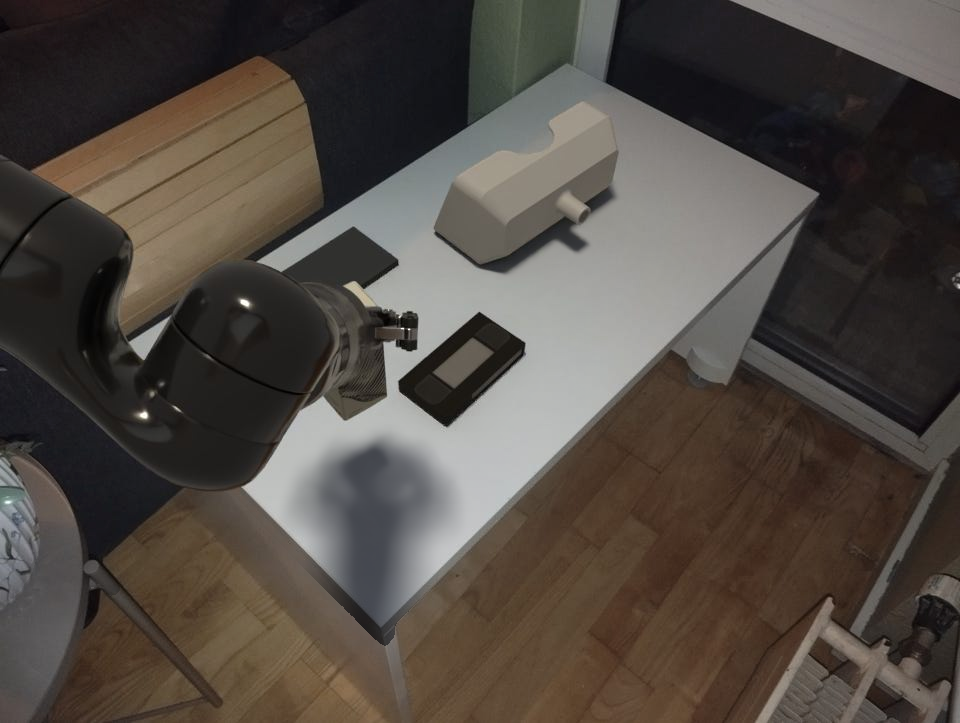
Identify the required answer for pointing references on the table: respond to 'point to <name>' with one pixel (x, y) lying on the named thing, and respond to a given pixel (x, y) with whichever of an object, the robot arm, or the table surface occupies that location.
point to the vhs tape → (461, 368)
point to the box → (361, 376)
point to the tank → (530, 187)
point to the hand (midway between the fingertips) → (348, 319)
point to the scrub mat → (345, 261)
